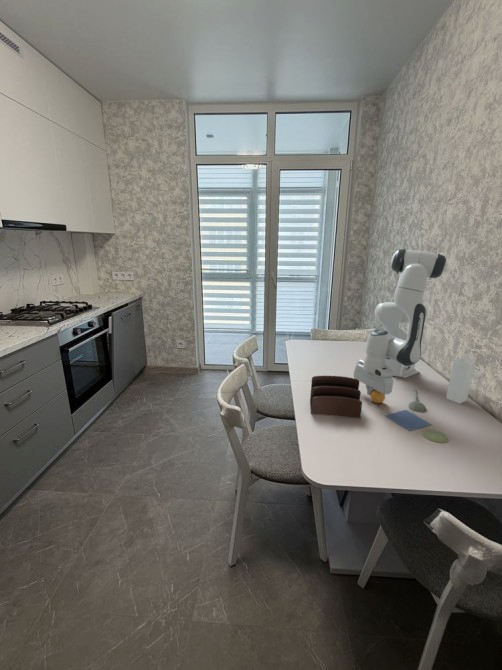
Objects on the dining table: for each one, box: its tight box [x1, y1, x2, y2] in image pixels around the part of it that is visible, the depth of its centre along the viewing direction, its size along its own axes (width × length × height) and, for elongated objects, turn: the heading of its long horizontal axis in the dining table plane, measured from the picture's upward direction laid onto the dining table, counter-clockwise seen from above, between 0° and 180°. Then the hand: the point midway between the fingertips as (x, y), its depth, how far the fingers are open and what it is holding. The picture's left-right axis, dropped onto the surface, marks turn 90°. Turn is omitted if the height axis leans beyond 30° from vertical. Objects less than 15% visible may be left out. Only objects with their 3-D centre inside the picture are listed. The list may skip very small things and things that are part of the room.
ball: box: [370, 390, 386, 404], centre depth 137 cm, size 6×6×6 cm
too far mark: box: [422, 429, 449, 444], centre depth 113 cm, size 8×8×1 cm
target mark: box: [384, 409, 433, 432], centre depth 124 cm, size 12×12×1 cm
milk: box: [445, 352, 476, 404], centre depth 138 cm, size 6×6×22 cm
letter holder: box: [309, 375, 363, 419], centre depth 129 cm, size 10×20×14 cm, turn 82°
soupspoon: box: [408, 389, 427, 414], centre depth 139 cm, size 22×3×7 cm
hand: (369, 394), depth 140 cm, fingers closed
